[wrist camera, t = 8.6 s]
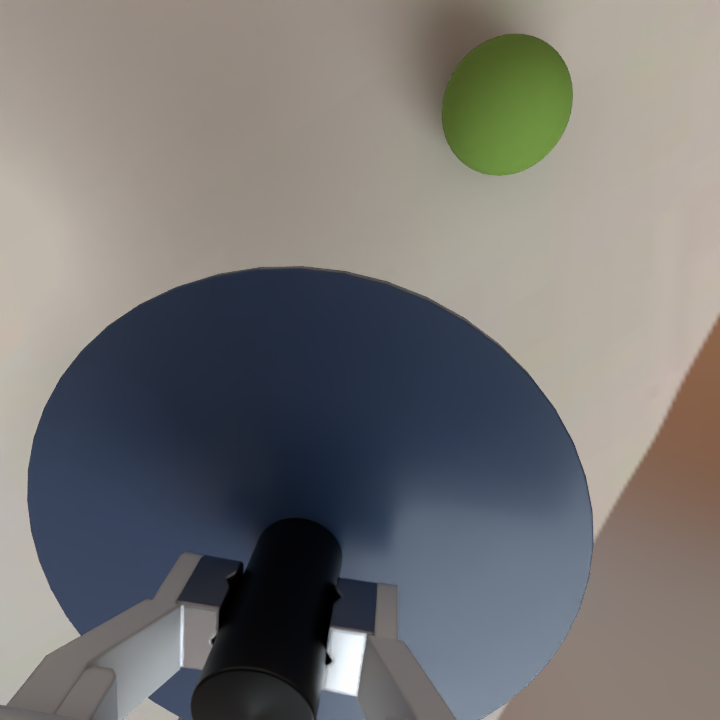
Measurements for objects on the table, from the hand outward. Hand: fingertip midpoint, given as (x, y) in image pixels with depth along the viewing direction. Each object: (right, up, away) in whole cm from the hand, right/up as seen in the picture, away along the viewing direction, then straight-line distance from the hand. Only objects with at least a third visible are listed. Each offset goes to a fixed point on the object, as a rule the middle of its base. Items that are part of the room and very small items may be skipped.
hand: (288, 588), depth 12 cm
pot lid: (0, +1, +2) cm, 2 cm away
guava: (+8, +17, +10) cm, 21 cm away
